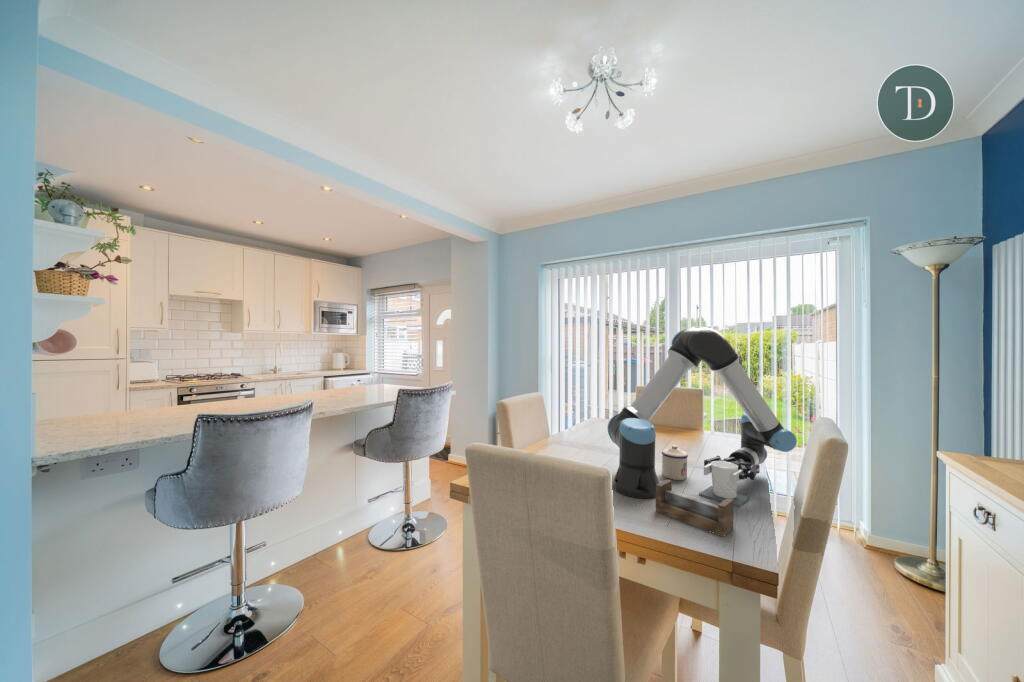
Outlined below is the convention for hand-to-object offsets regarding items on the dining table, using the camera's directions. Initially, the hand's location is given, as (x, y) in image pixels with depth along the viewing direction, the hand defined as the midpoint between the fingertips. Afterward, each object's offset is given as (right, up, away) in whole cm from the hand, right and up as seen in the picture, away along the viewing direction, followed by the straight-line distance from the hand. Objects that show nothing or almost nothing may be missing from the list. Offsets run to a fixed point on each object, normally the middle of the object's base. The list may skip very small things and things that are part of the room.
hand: (719, 474), depth 121 cm
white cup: (+4, -8, +3) cm, 9 cm away
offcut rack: (-15, -8, -13) cm, 21 cm away
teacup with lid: (-4, -9, +23) cm, 25 cm away
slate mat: (+3, -9, +3) cm, 10 cm away
